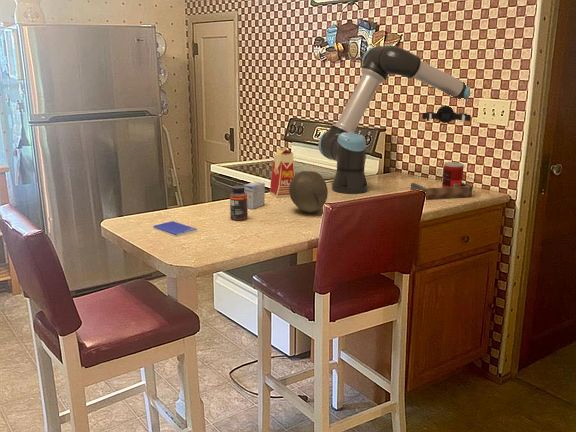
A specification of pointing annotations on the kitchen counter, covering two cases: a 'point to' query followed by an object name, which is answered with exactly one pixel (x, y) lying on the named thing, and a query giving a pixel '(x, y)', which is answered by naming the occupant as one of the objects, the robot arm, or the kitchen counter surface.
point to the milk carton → (282, 173)
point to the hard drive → (174, 228)
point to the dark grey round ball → (308, 191)
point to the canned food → (452, 174)
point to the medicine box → (255, 194)
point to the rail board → (445, 191)
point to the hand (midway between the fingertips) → (446, 118)
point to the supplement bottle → (238, 204)
